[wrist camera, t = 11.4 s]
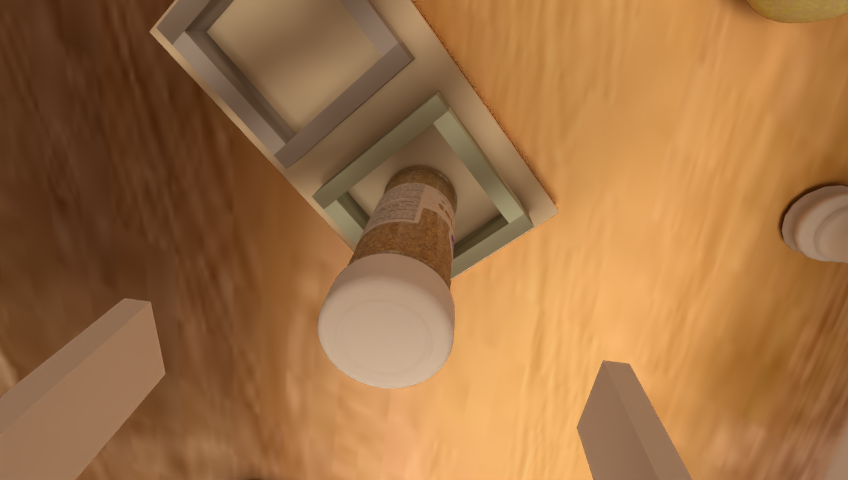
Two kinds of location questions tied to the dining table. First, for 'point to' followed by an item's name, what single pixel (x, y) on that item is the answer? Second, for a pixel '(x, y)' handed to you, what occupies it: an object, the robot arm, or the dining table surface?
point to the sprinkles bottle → (396, 287)
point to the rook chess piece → (819, 224)
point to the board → (357, 110)
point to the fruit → (799, 9)
